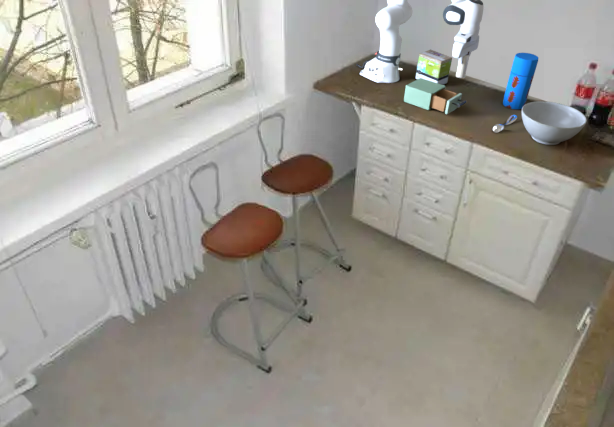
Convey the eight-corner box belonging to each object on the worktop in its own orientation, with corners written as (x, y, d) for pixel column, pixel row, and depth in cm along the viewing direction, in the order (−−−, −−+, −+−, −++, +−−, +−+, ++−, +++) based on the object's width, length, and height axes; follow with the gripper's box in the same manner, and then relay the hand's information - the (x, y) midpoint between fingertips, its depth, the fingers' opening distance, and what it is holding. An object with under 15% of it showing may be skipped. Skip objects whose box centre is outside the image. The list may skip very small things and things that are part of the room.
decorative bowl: (530, 119, 251) (537, 96, 244) (586, 139, 236) (596, 114, 229) (504, 137, 235) (511, 113, 228) (563, 159, 221) (572, 134, 213)
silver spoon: (511, 109, 250) (521, 112, 247) (510, 116, 252) (519, 119, 250) (491, 125, 239) (501, 128, 236) (489, 132, 241) (499, 135, 239)
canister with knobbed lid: (453, 76, 264) (459, 48, 255) (458, 73, 266) (464, 45, 258) (462, 78, 261) (468, 50, 253) (466, 76, 264) (472, 48, 255)
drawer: (467, 109, 256) (470, 96, 252) (455, 117, 249) (457, 104, 245) (435, 98, 266) (438, 85, 262) (422, 105, 258) (425, 93, 254)
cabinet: (442, 102, 265) (445, 85, 260) (428, 110, 256) (431, 93, 251) (417, 93, 272) (420, 77, 267) (403, 101, 264) (405, 85, 259)
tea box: (414, 79, 288) (418, 52, 279) (426, 74, 293) (430, 48, 285) (436, 87, 279) (441, 60, 270) (447, 83, 284) (453, 56, 276)
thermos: (498, 104, 264) (511, 56, 249) (508, 98, 270) (521, 50, 255) (518, 111, 258) (533, 62, 243) (528, 105, 264) (542, 56, 249)
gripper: (472, 28, 259) (467, 55, 267) (452, 37, 247) (447, 65, 255) (484, 31, 256) (478, 58, 264) (464, 40, 243) (458, 69, 252)
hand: (462, 62), depth 259 cm, fingers closed on canister with knobbed lid, 4 cm apart
